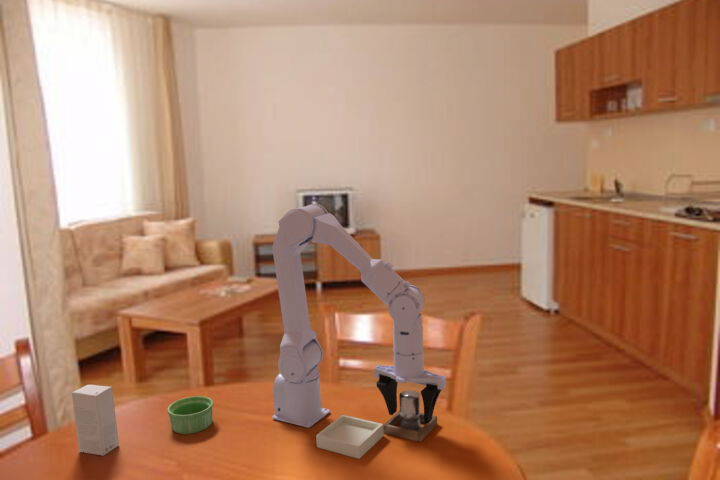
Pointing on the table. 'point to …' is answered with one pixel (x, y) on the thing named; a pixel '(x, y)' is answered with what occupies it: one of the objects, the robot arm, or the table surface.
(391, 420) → the walnut collar
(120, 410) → the table surface
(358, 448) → the beige shallow square tray
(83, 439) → the skincare box
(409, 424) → the dowel pin
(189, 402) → the ramekin
